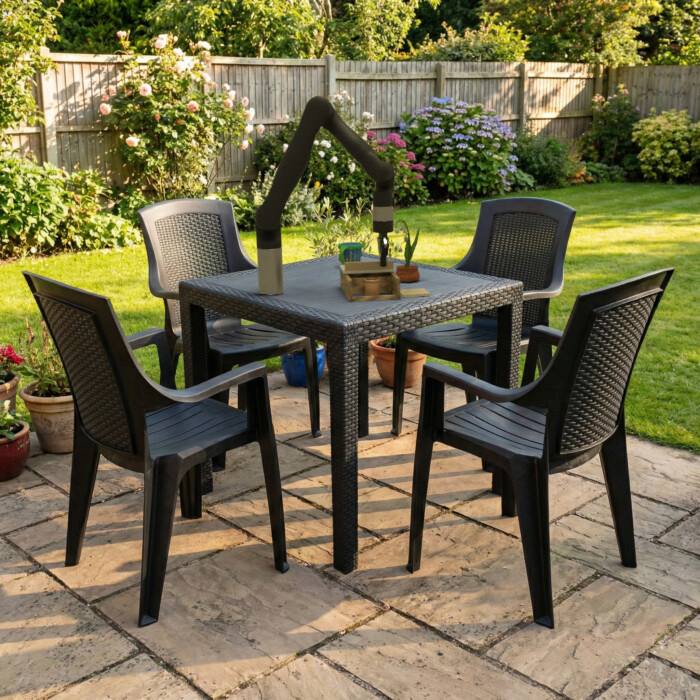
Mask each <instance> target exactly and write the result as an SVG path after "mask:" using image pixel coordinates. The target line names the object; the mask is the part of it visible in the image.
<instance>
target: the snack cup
mask: <svg viewBox="0 0 700 700" xmlns="http://www.w3.org/2000/svg"><path fill="white" fill-rule="evenodd" d="M337 247H338V250H339V254H338V261H339V262H340V263H341V265H345V262H361V259H362V258H363V247H364V243H362V242H355V241H347V242H342V243H341V242H340V243H338V244H337Z"/></svg>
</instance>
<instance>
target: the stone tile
mask: <svg viewBox="0 0 700 700" xmlns="http://www.w3.org/2000/svg"><path fill="white" fill-rule="evenodd" d="M416 296H417V297H416ZM418 296H426V297H431V293H430V292H429V291H428V290H427V289H426V288H425V287H424V288H423V287H421V288H403V289H402V288H400V297H401V298H403V297H405V298H419V297H418Z"/></svg>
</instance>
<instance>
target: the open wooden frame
mask: <svg viewBox="0 0 700 700" xmlns="http://www.w3.org/2000/svg"><path fill="white" fill-rule="evenodd" d="M339 269H340V268H339ZM339 273H340V274H339V275H340V276H339V278H340V279H339V280H340V288H341V290H342V292H343V294H344V295H345V296H346V298H347V300H348V302H349V303H352V302H354V303H355V301H356V302H370V301H371V302H373V301H393V300H394V301H395V300H396V301H397V300H401V295H400V289H401V282H400V278H399V277H398V276H397V275H396V274H395V273H396V272H377V273H354V274H343V272H342V271H341V269H340V270H339ZM366 277H378V278H380V282H379V296H365V282H364V279H365V278H366ZM380 294H381V295H380ZM382 294H383V295H382ZM353 295H361V296H353Z"/></svg>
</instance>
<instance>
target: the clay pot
mask: <svg viewBox="0 0 700 700" xmlns="http://www.w3.org/2000/svg"><path fill="white" fill-rule="evenodd" d="M364 282H365V294H364V296H380V293H379V282H380V278H378V277H366V278H365V279H364Z"/></svg>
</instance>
